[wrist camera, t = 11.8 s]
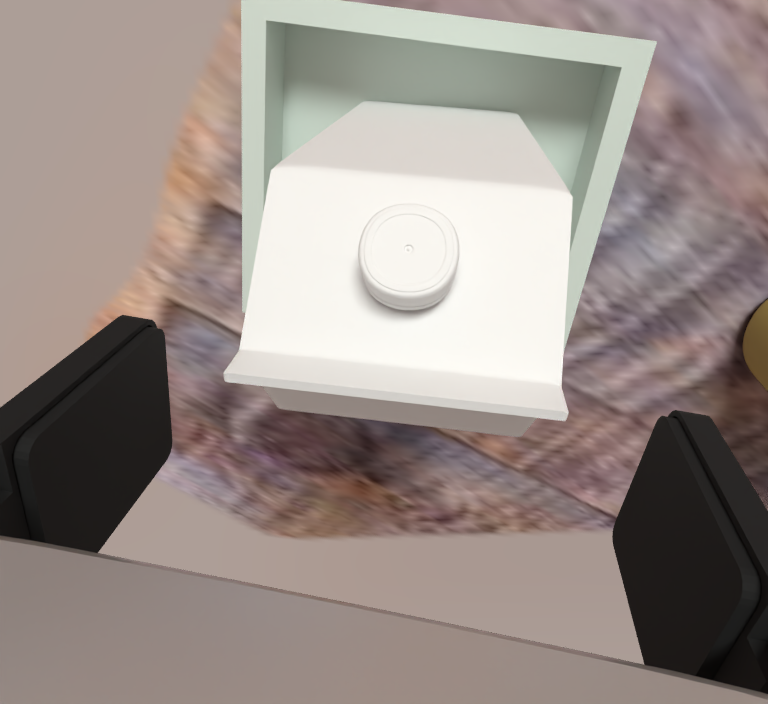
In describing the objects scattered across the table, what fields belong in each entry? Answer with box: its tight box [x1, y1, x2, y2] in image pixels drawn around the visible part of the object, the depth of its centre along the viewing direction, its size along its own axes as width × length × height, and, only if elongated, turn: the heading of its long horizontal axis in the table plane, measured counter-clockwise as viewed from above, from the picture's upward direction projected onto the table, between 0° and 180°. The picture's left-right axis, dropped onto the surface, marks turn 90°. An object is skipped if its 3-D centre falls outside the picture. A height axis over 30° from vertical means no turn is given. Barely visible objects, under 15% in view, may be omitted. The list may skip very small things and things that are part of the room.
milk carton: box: [224, 101, 573, 437], centre depth 20 cm, size 7×7×19 cm
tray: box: [241, 0, 657, 352], centre depth 28 cm, size 16×14×4 cm
